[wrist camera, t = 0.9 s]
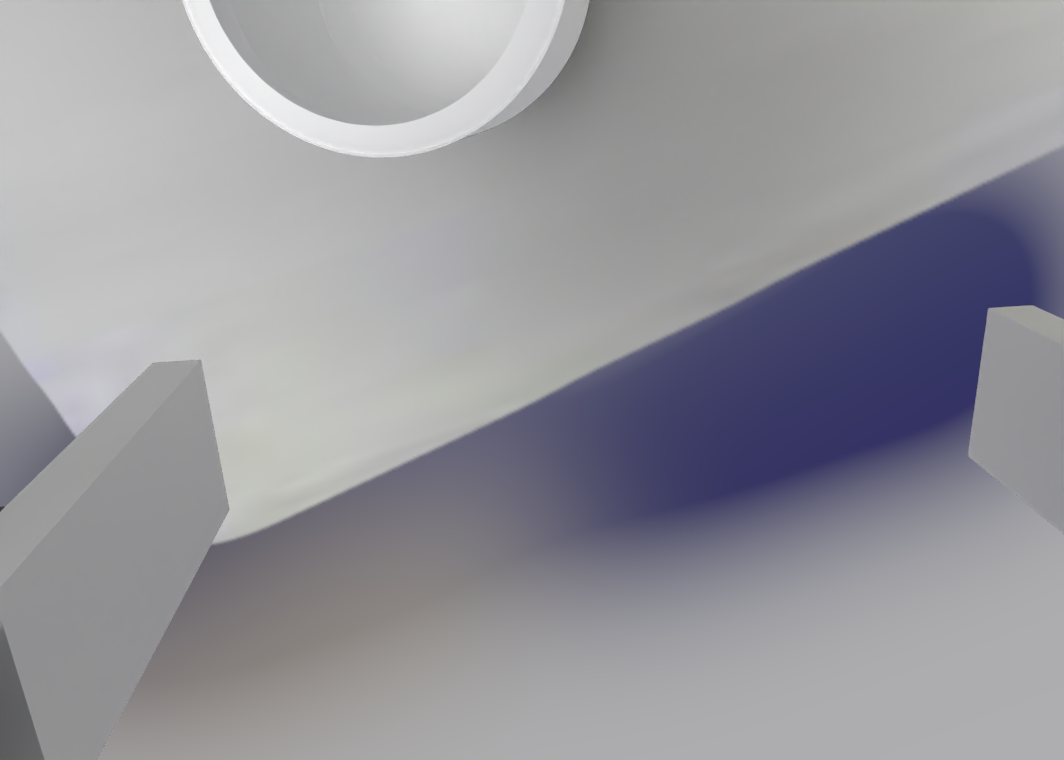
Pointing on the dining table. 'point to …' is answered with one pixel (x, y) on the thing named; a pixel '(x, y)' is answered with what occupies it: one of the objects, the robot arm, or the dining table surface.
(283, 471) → the dining table surface
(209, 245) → the dining table surface
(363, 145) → the jar
